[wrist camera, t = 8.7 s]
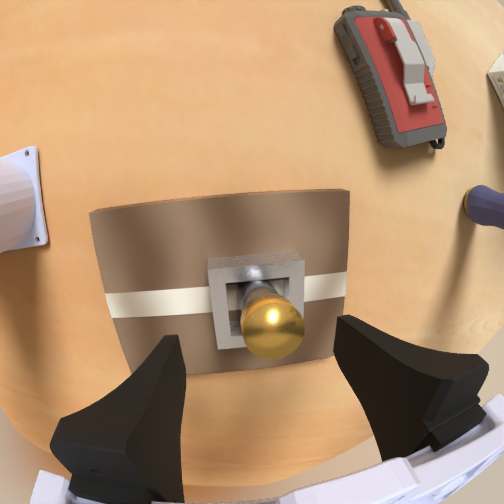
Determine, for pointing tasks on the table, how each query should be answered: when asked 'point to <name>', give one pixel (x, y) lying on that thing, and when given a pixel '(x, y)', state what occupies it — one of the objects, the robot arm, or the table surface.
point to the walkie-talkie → (394, 74)
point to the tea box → (498, 77)
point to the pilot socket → (251, 269)
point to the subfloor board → (196, 263)
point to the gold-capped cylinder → (268, 320)
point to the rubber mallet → (485, 206)
